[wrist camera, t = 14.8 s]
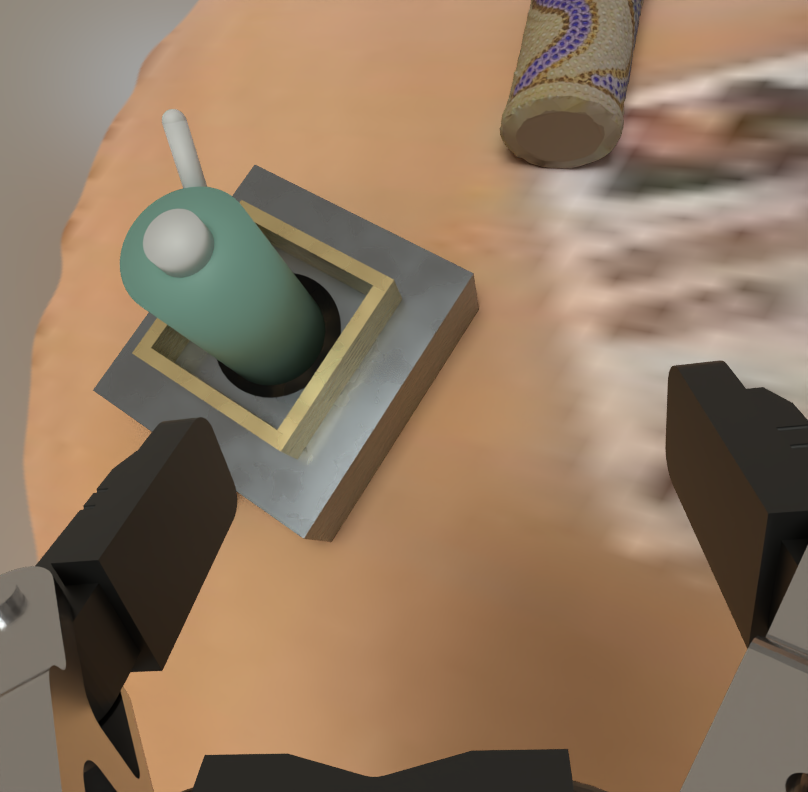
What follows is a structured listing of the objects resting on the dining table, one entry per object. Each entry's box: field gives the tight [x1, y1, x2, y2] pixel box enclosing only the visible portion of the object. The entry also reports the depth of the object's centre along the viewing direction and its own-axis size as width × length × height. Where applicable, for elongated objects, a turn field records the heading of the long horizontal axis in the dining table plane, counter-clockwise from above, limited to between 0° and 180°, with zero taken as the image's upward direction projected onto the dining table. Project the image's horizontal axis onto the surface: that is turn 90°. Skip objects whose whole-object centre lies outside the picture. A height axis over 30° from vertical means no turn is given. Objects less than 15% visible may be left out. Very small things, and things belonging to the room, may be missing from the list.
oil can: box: [120, 109, 325, 385], centre depth 30 cm, size 9×6×12 cm
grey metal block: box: [93, 165, 479, 542], centre depth 37 cm, size 21×16×8 cm
